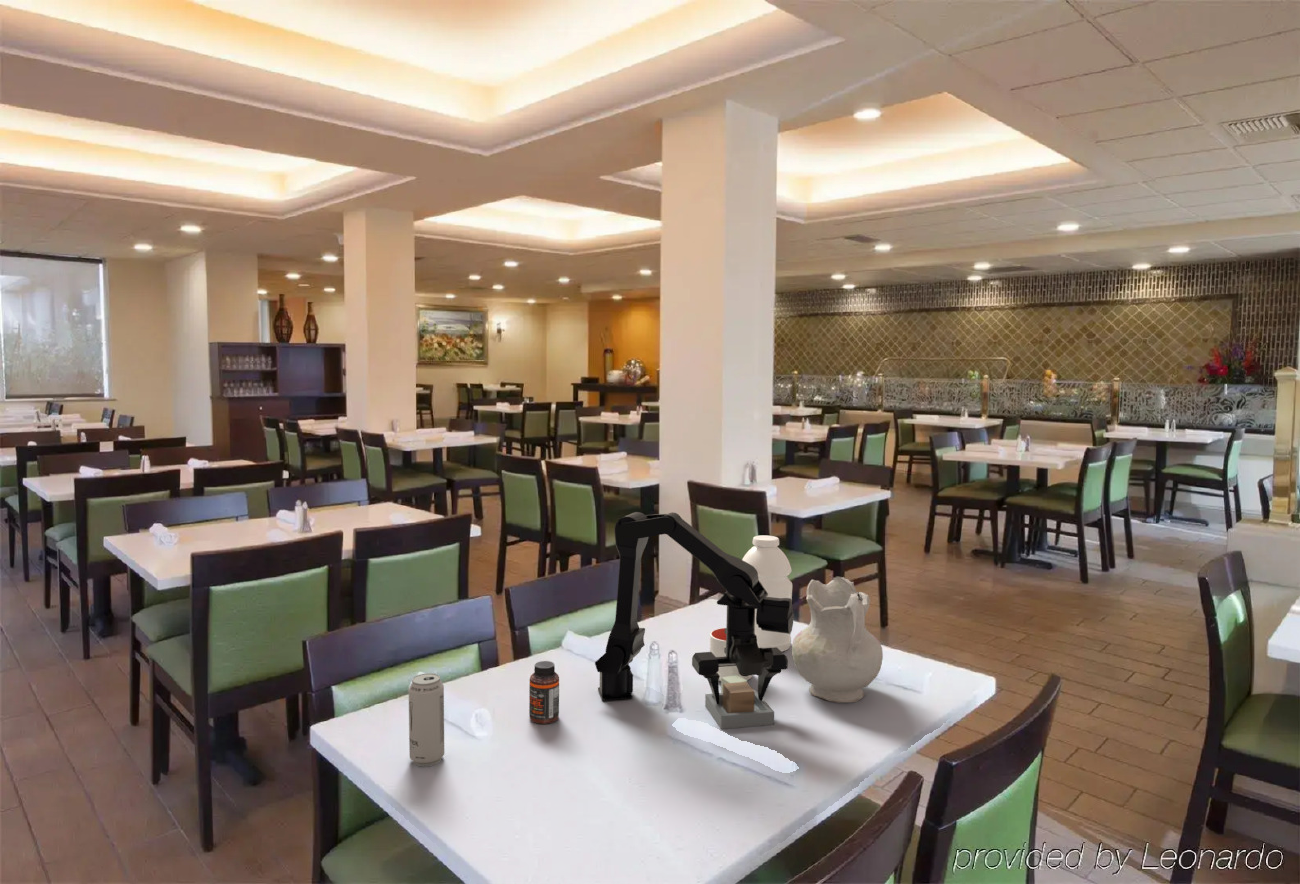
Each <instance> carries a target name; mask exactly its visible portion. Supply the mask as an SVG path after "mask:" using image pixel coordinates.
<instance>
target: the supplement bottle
mask: <svg viewBox="0 0 1300 884" xmlns="http://www.w3.org/2000/svg"><path fill="white" fill-rule="evenodd" d="M555 670H556V668H555V663H554V662H553V661H550V660H540V661H537V662H536V663H535V664H534V672H533V673H532V674H531V675H530V676H529V686H528V687H529V688H528V689H529V700H528V701H529V703H528V704H529V705H528V706H529V707H528V708H529V710H528V711H529V713H528V715H529V720H530V721H531V722H533V723H534V724H539V725H542V724H543V725H546V724H551V723H554V722H556V721H557V720H558V719H559V715H560V677H559V674H558V673H557V672H556V671H555Z"/></svg>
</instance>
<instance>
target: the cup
mask: <svg viewBox="0 0 1300 884" xmlns="http://www.w3.org/2000/svg"><path fill="white" fill-rule="evenodd" d="M725 628H726V627H721V628H717V629H714V630H712V631H711V632H710V633H709V652H712V653H713V655H714V656H715V657H726V654H725V653H724V648H726V634H725ZM717 673H718V674H719V676H720V677H719V680H718V682H721V678H723V677H728V676H733V675H738V676H740V677H742V678H743V679H745V680H747V681H750V679H752V677H753V675H749V676H741V675H740V674H739V672H738V669H737V666H725V667H719V671H718V672H717Z"/></svg>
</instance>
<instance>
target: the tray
mask: <svg viewBox="0 0 1300 884" xmlns="http://www.w3.org/2000/svg"><path fill="white" fill-rule="evenodd" d="M753 690H754V691H755V695H754V711H751V712H739V713H727V712H726V711H725V710H724V708H723V693H721V692H719V704H716V702H715V699H714V696H713V693H705V698H704V699H705V700H704V706H705V708H706V710H707V711H708V713H709V714H710V716H712V719H714V721H715V722H716V724H717V725H718V726H719V728H720V729H721V730H725V729H726V730H727V729H736V728H737V729H738V728H747V727H759V726H760V727H761V726H771V725H775V711H774V709H773V708H772V707H771V706H770V705H769V704H768V702H766V701H765V699H764V698H763V699H762V701H760V700H759V698H758V691H757V690H755V689H753Z"/></svg>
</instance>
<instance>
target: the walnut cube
mask: <svg viewBox="0 0 1300 884" xmlns="http://www.w3.org/2000/svg"><path fill="white" fill-rule="evenodd" d="M754 690H755V689H753V688H752V687H751V685H749V683H748V681H747V682H737V683H725V684H723V708H724V710H725V711H726V712H727V713H739V712H751V711H754V695H755V691H754Z"/></svg>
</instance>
